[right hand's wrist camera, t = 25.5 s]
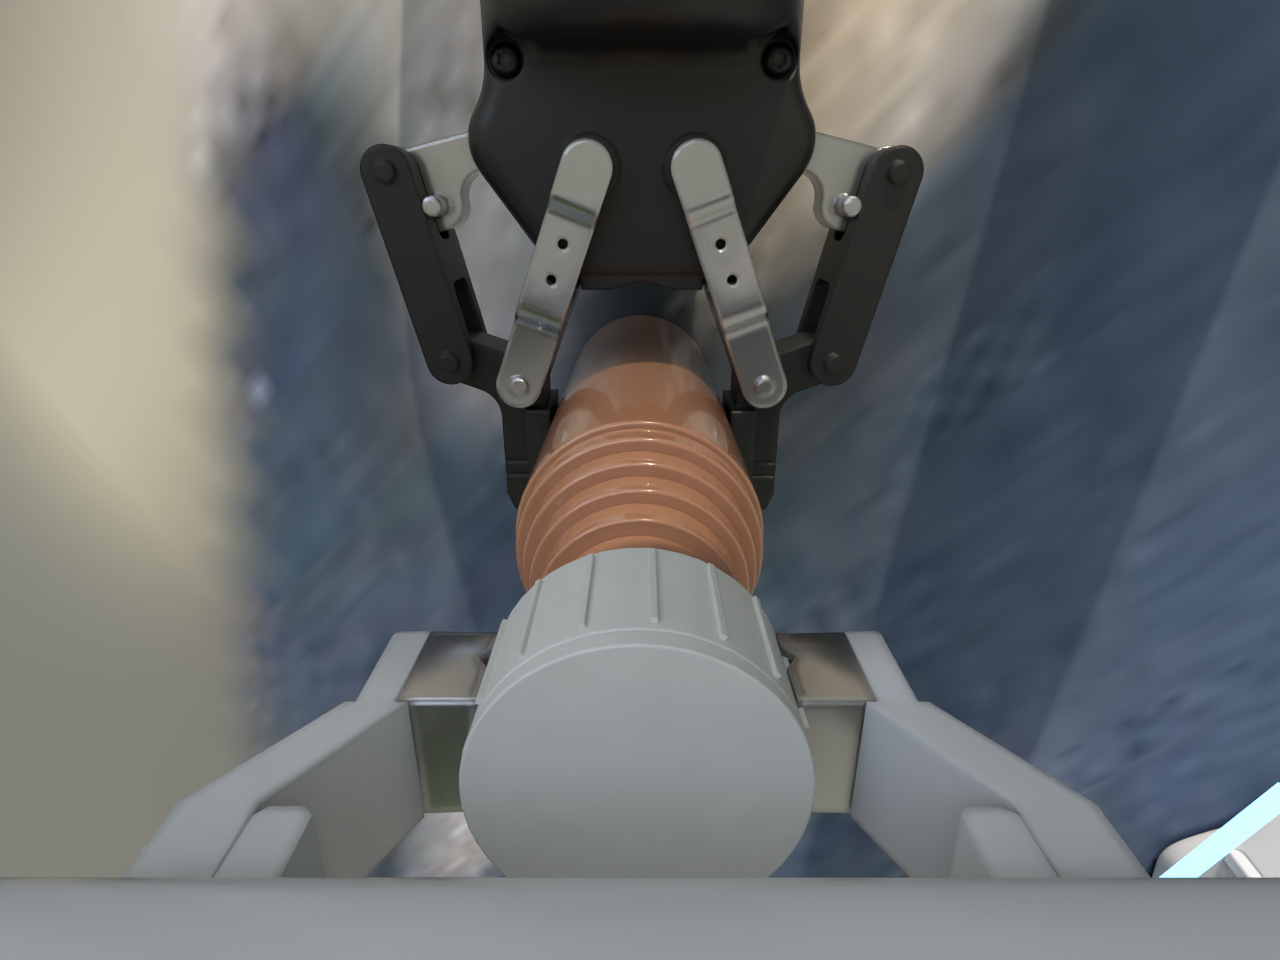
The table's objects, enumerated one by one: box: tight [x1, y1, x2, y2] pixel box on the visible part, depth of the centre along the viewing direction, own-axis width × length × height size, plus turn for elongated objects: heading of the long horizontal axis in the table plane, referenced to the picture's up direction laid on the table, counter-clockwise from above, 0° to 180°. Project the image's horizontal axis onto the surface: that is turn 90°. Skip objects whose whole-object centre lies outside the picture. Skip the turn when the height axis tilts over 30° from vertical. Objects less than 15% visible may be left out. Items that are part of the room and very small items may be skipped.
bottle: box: [515, 315, 764, 596], centre depth 18 cm, size 5×5×19 cm
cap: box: [459, 548, 816, 878], centre depth 9 cm, size 4×4×2 cm
